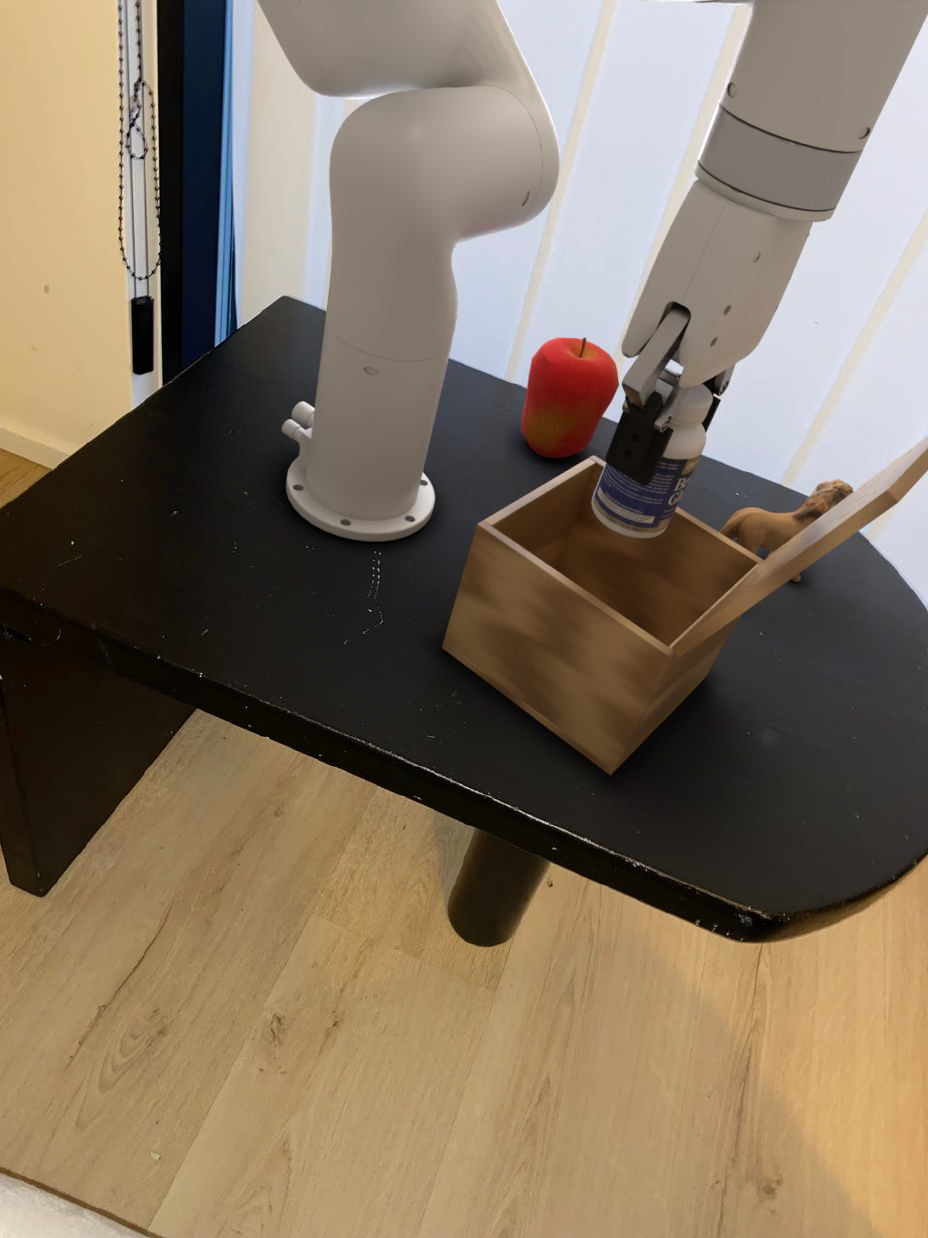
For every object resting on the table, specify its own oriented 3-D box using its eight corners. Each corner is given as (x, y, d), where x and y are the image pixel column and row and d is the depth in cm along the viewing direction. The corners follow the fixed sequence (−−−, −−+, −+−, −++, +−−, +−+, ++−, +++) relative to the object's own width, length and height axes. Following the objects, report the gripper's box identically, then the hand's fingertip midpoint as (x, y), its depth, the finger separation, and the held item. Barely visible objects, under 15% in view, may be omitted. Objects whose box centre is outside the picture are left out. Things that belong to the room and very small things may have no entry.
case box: (441, 647, 70) (476, 524, 62) (551, 570, 79) (593, 454, 71) (610, 776, 64) (672, 658, 56) (706, 676, 74) (770, 564, 66)
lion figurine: (793, 541, 90) (838, 464, 84) (830, 577, 87) (879, 500, 81) (674, 561, 84) (714, 479, 78) (709, 601, 81) (753, 519, 75)
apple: (594, 479, 91) (635, 369, 83) (509, 461, 90) (542, 348, 82) (589, 431, 97) (627, 325, 89) (509, 414, 96) (541, 305, 88)
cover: (887, 489, 44) (899, 502, 44) (970, 403, 54) (980, 413, 53) (670, 647, 56) (679, 658, 56) (770, 554, 66) (777, 563, 66)
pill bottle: (665, 550, 61) (725, 422, 55) (586, 527, 61) (636, 395, 55) (668, 504, 65) (724, 380, 59) (593, 482, 65) (641, 355, 59)
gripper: (777, 120, 55) (666, 392, 67) (629, 152, 44) (528, 472, 56) (895, 170, 52) (758, 444, 65) (770, 217, 41) (632, 538, 53)
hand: (652, 454), depth 60 cm, fingers closed on pill bottle, 5 cm apart
